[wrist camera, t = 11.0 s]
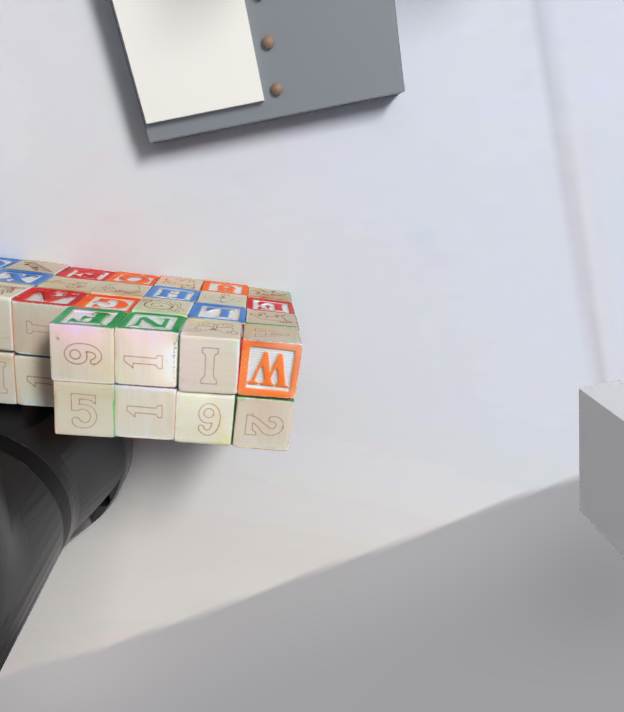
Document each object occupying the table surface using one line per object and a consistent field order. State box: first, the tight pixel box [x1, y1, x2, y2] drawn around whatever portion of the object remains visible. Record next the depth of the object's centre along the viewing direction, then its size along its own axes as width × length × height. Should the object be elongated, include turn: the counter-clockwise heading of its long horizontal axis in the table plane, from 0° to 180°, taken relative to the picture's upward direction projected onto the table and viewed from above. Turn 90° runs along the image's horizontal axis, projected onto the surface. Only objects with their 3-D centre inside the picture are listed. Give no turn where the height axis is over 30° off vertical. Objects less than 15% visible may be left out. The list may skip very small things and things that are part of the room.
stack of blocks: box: [0, 257, 302, 451], centre depth 32 cm, size 21×6×12 cm, turn 82°
